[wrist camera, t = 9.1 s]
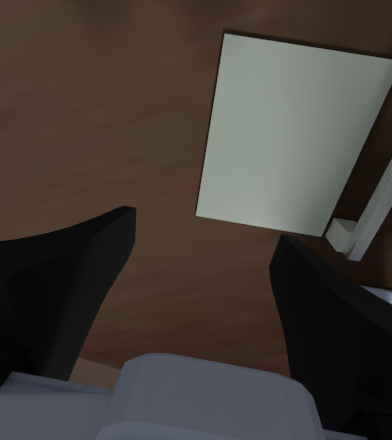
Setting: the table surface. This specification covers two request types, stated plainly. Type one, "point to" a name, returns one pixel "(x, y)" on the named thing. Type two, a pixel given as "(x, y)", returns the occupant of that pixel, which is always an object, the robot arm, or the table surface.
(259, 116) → the sage mat
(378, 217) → the grey bar
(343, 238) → the gray bar handle
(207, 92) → the table surface
